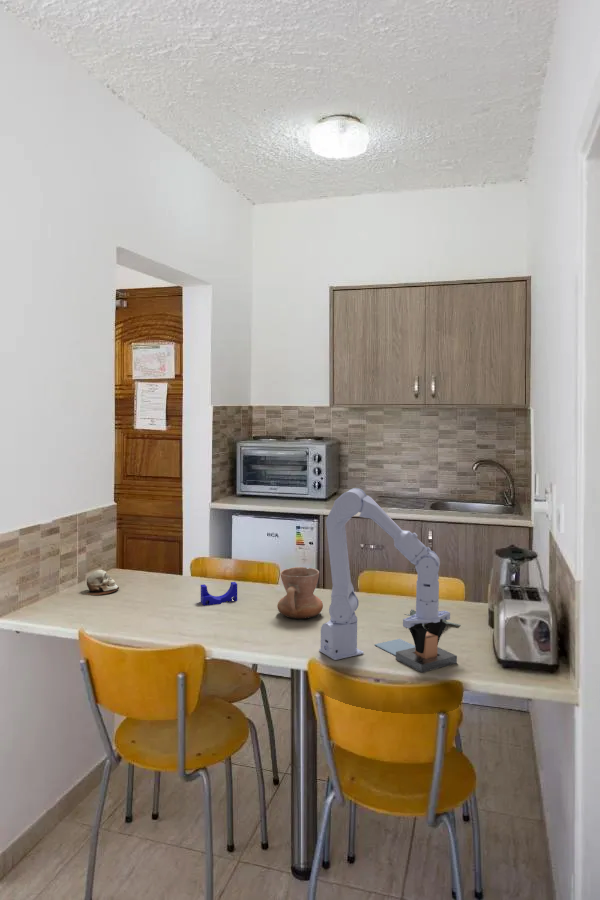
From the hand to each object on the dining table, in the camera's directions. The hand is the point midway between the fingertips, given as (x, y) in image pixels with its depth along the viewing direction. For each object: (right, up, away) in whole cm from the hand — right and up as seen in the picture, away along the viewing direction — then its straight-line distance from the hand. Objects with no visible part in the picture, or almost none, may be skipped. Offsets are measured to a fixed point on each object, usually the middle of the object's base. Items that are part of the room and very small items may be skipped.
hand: (426, 650), depth 170 cm
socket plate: (0, -3, 0) cm, 3 cm away
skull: (-104, +1, +64) cm, 122 cm away
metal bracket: (+7, -2, +30) cm, 30 cm away
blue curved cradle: (-60, 0, +52) cm, 79 cm away
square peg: (0, -3, 0) cm, 3 cm away
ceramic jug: (-33, -1, +37) cm, 50 cm away
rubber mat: (-6, -2, +10) cm, 12 cm away
